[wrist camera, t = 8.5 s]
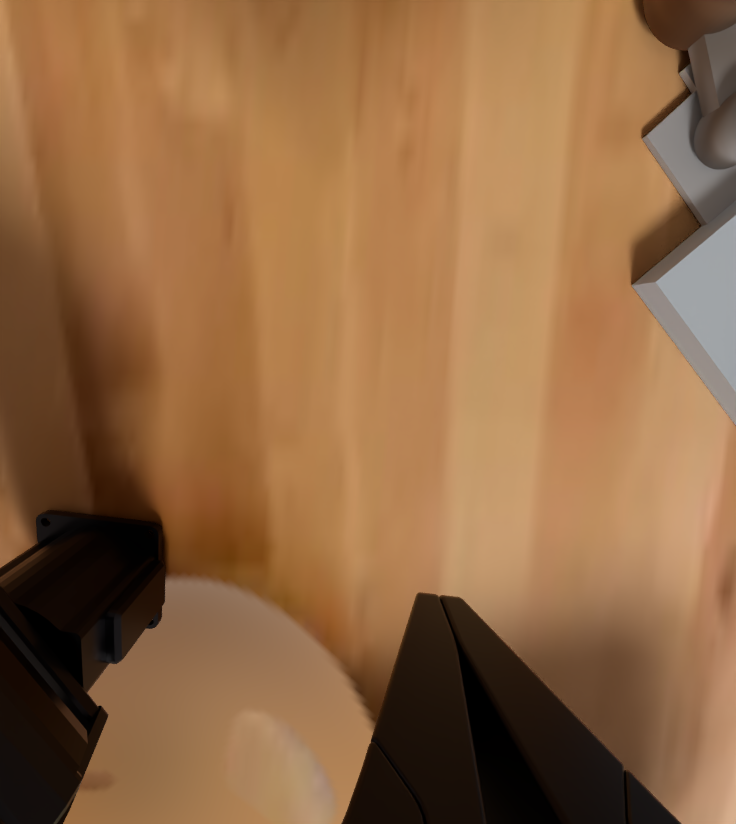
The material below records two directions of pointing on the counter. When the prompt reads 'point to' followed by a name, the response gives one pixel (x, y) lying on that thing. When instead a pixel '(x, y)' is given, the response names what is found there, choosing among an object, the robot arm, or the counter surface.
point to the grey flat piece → (697, 256)
